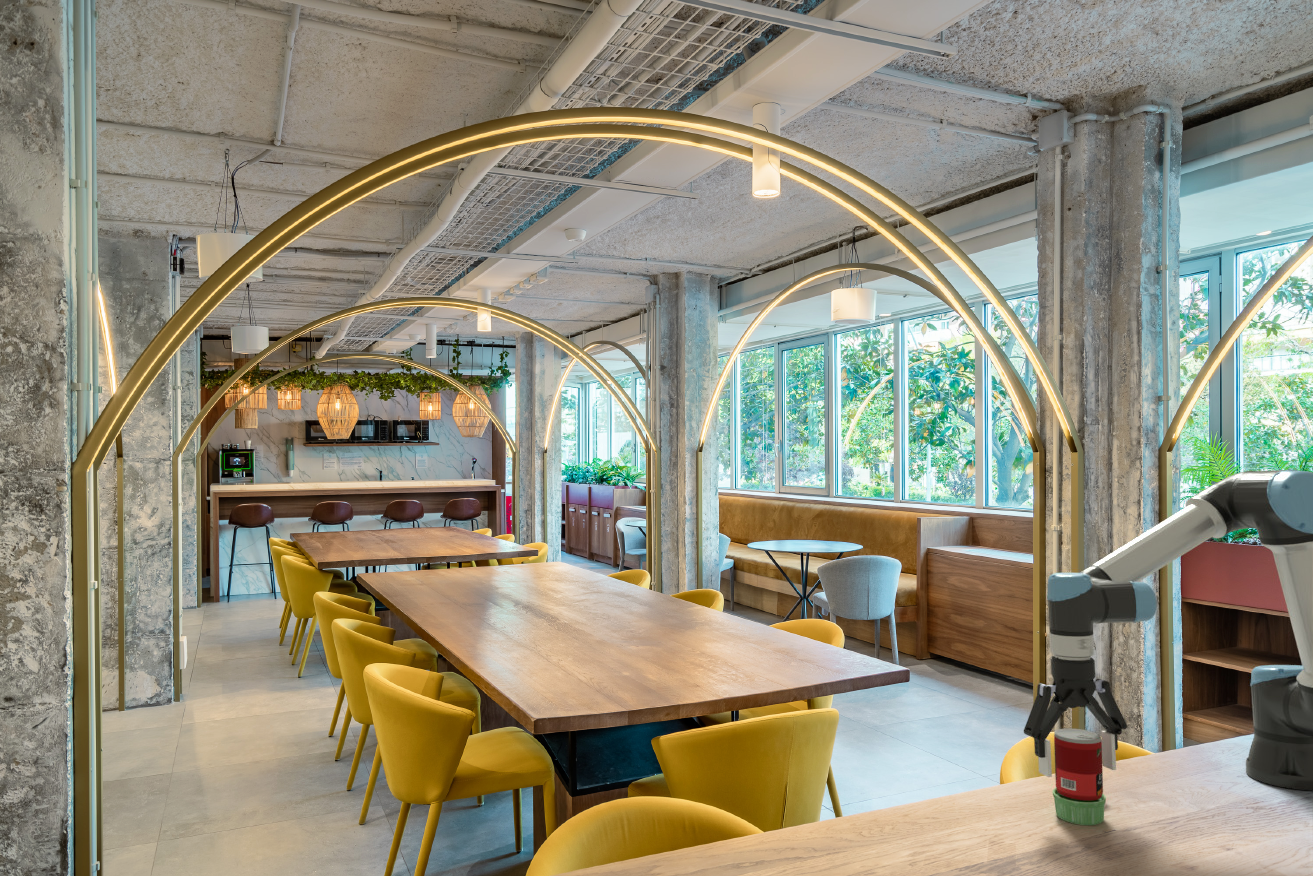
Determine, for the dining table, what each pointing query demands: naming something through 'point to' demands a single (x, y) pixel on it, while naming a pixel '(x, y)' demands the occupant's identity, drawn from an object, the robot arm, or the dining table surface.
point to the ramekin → (1079, 809)
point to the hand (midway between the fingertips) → (1077, 771)
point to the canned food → (1078, 764)
